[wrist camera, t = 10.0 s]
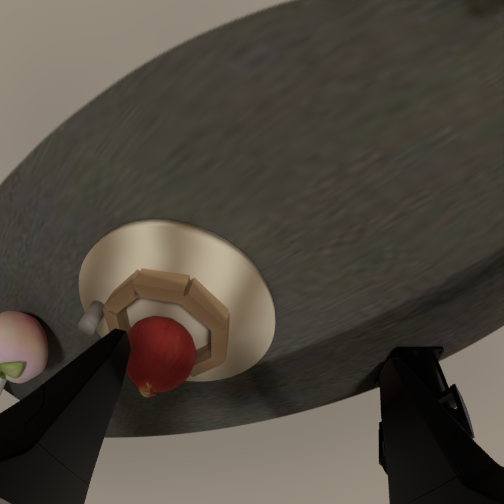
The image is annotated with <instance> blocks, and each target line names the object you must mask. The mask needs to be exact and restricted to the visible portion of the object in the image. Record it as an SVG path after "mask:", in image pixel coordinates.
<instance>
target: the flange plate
mask: <svg viewBox="0 0 504 504" xmlns="http://www.w3.org/2000/svg"><path fill="white" fill-rule="evenodd" d="M79 293H80V298H81V302H82V305H83V308H84V311H85V314H84V316H83V317H82V319H81V320H80V322H79V323H78V328H79V330H80V331H81V332H82V333H83V334H85V335H87V336H92V335H93V334H94V332H95V330H96V332H97V333H98V334H99V335H100V336H101V338H103V337H104V336H105V335H107V334H108V333H109V332H111V331H112V330H113V329H115V328H119V329H123V330H126V331H127V333H128V331H129V330H130V329H131V327H132V326H133V325H134V324H135V323H136V322H137V321H139V320H141V319H143V318H146V317H151V316H160V317H169V318H172V319H174V320H175V321H177V322H178V323H180V324H181V325H183V326H184V327H185V328H186V329H187V331H188V332H189V333H190V334H191V336H192V338H193V341H194V344H195V348H196V360H195V363H194V366H193V369H192V371H191V374H190V375H189V376H188V378H187V379H186V380H185V381H197V382H199V381H214V380H221V379H225V378H229V377H232V376H235V375H238V374H240V373H242V372H244V371H246V370H247V369H249V368H250V367H252V366H253V365H255V364H256V363H257V362H258V361H259V360H260V359H261V358H262V357H263V356H264V354H265V353H266V352H267V350H268V348H269V346H270V345H271V342H272V339H273V336H274V330H275V305H274V301H273V296H272V293H271V291H270V288H269V286H268V283H267V282H266V280H265V278H264V277H263V275H262V273H261V272H260V270H259V269H258V268H257V267H256V266H255V264H254V263H253V262H252V261H251V260H250V259H249V258H248V257H247V256H246V255H245V254H244V253H243V252H242V251H241V250H239V249H238V248H237V247H235V246H234V245H233V244H231V243H230V242H229V241H227V240H225V239H224V238H222V237H220V236H218V235H216V234H215V233H213V232H210V231H208V230H206V229H203V228H201V227H199V226H195V225H192V224H188V223H185V222H180V221H174V220H168V219H146V220H138V221H134V222H130V223H126V224H124V225H121V226H119V227H117V228H115V229H113V230H112V231H110V232H108V233H107V234H106V235H105V236H103V237H102V238H101V239H100V240H99V241H98V242H97V243H96V244H95V245H94V247H93V248H92V249H91V250H90V252H89V253H88V254H87V256H86V257H85V260H84V262H83V264H82V267H81V271H80V275H79Z"/></svg>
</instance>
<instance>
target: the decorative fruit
mask: <svg viewBox="0 0 504 504" xmlns="http://www.w3.org/2000/svg"><path fill="white" fill-rule="evenodd" d="M47 359H48V341H47V337H46V334H45V331H44V329H43V328H42V326H41V324H40V323H39V321H38V320H37V319H35V318H34V317H32V316H30V315H28V314H26V313H22V312H17V311H5V312H2V313H0V378H1V379H7V380H9V381H11V382H14V383H24V382H26V381H28V380H30V379H31V378H33V377H35V376H37V375H38V374H40V373H41V372H42V371H43V370H44V368H45V366H46V363H47Z"/></svg>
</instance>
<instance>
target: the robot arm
mask: <svg viewBox="0 0 504 504" xmlns="http://www.w3.org/2000/svg"><path fill="white" fill-rule="evenodd" d="M130 352H131V345H130V341H129V337H128V333H127V331H126V330H123V329H119V328H115V329H113V330H112V331H111V332H109V333H108V334H107V335H105V336H104V337H103V338H101V339H100V340H99V341H97V342H96V343H95V344H93V345H92V346H91V347H90V348H88V349H87V350H86V351H84V352H83V353H82V354H81V355H79V356H78V357H77V358H75V359H74V360H73V361H71V362H70V363H69V364H68V365H66V366H65V367H64V368H62V369H61V370H60V371H59V372H57V373H56V374H55V375H54V376H52V377H51V378H50V379H48V380H47V381H46V382H45V383H44V384H42V385H41V386H39V387H38V388H37V389H36V390H34V391H33V392H32V393H30V394H29V395H28V396H26V397H25V398H23V399H22V400H20V401H19V402H17V403H16V404H14V405H13V406H11V407H10V408H8V409H6V410H5V411H3V412H2V413H0V504H84V502H85V499H86V495H87V491H88V488H89V484H90V481H91V477H92V474H93V471H94V467H95V464H96V461H97V458H98V455H99V451H100V448H101V445H102V442H103V439H104V436H105V433H106V430H107V428H108V425H109V422H110V419H111V416H112V413H113V410H114V408H115V405H116V402H117V399H118V397H119V394H120V391H121V388H122V384H123V380H124V376H125V372H126V368H127V364H128V360H129V356H130ZM443 352H444V349H443V347H398V348H396V349H395V350H394V352H393V353H392V355H391V357H390V358H389V360H388V361H387V363H386V365H385V366H384V368H383V369H382V371H381V373H380V374H379V376H378V378H377V379H376V381H375V382H374V383H375V386H376V387H380V400H381V418H382V422H380V423H379V464H380V465H381V466H382V467H383V469H384V471H385V472H386V474H387V475H388V484H389V498H390V504H504V467H502V466H500V465H499V464H497V463H496V462H495V461H494V460H493V459H492V458H490V456H489V455H488V454H487V453H486V452H485V451H484V450H483V449H482V448H481V447H480V446H478V445H477V444H476V442H474V440H473V438H474V433H473V429H472V425H471V421H470V417H469V414H468V411H467V408H466V406H465V403H464V401H463V398H462V396H461V394H460V392H459V390H458V388H457V387H456V385H455V384H453V385H452V386H450V388H449V387H448V384H447V382H446V379H445V377H444V374H443V372H442V369H441V367H440V364H439V362H438V360H439V358H440V357H441V355H442V354H443ZM456 407H457V409H454V408H456Z"/></svg>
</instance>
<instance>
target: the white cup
mask: <svg viewBox="0 0 504 504" xmlns="http://www.w3.org/2000/svg"><path fill="white" fill-rule="evenodd" d="M6 381H7V379H1V378H0V395H1V392H2V390H3V388H4V386H5V383H6Z"/></svg>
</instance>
